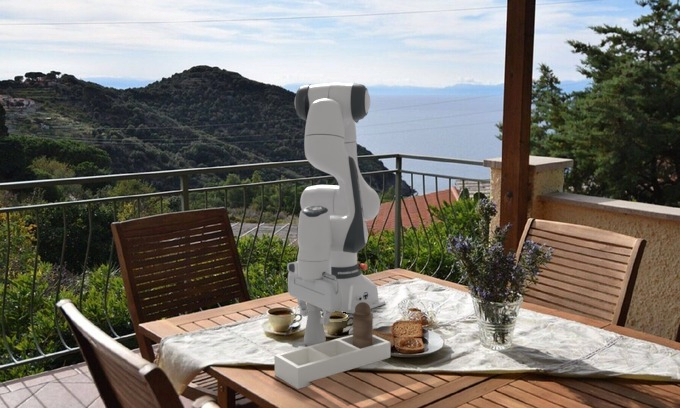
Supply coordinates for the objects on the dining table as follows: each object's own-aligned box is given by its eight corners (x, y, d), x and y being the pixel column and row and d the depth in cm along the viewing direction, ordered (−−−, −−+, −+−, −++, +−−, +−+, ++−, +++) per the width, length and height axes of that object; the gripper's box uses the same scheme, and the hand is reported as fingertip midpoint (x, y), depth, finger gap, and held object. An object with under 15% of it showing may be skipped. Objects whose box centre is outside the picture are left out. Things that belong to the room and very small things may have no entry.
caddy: (365, 349, 177) (365, 331, 177) (390, 361, 170) (390, 342, 169) (274, 374, 161) (274, 355, 160) (297, 389, 153) (297, 368, 152)
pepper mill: (363, 350, 174) (364, 298, 172) (376, 356, 170) (377, 303, 168) (348, 355, 171) (348, 301, 169) (361, 361, 167) (361, 306, 165)
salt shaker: (322, 352, 175) (322, 304, 173) (301, 350, 176) (301, 303, 174) (327, 344, 181) (327, 298, 179) (307, 343, 182) (306, 296, 180)
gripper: (348, 275, 169) (347, 328, 171) (303, 260, 185) (303, 308, 187) (328, 278, 165) (327, 332, 167) (283, 263, 181) (283, 312, 183)
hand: (314, 319), depth 177 cm, fingers open, 8 cm apart
